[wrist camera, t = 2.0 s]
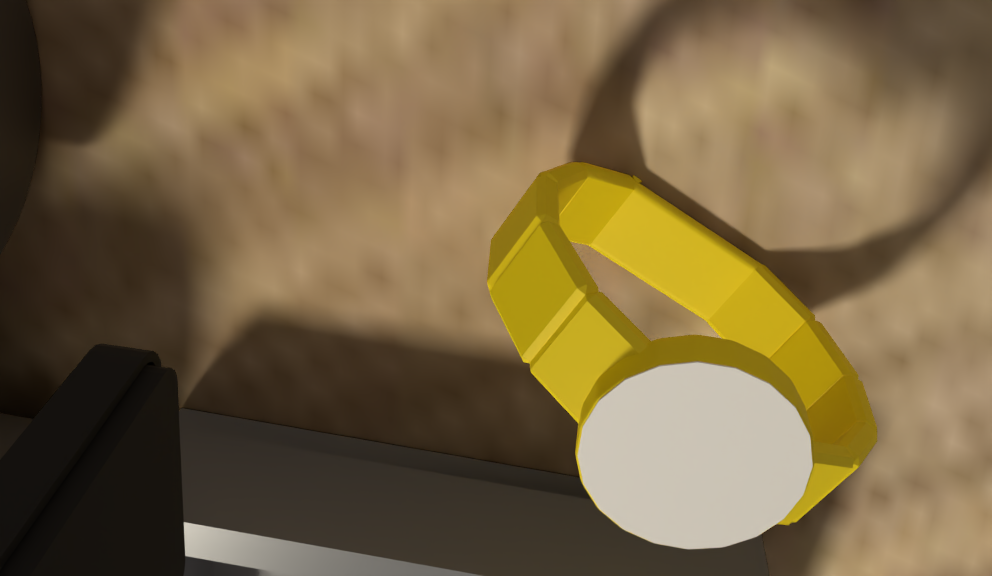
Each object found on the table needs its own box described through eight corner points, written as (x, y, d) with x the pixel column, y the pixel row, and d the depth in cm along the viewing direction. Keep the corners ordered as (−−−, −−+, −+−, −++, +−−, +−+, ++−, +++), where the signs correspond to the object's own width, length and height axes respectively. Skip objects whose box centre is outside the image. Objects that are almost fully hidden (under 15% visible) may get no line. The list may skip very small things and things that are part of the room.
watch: (493, 214, 17) (406, 396, 11) (585, 86, 15) (535, 224, 10) (764, 399, 17) (801, 651, 12) (873, 291, 16) (968, 520, 11)
